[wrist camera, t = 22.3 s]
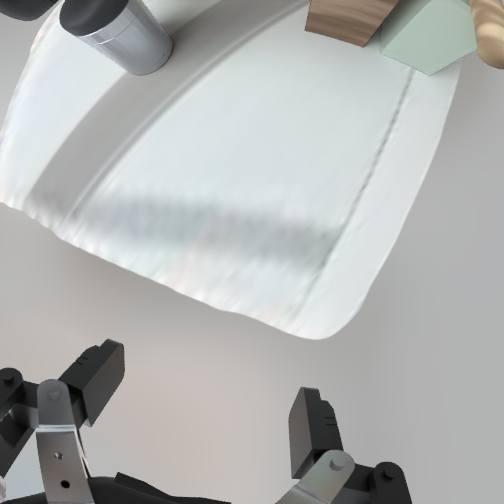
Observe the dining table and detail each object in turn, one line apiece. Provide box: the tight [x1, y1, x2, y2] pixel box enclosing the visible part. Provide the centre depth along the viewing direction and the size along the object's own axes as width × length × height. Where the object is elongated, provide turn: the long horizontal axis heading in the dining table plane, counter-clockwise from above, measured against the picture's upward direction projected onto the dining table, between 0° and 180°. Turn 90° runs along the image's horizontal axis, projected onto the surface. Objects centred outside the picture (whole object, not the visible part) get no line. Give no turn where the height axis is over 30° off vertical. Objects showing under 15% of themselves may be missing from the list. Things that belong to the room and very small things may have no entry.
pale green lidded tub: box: [380, 0, 477, 76], centre depth 22 cm, size 12×12×23 cm
